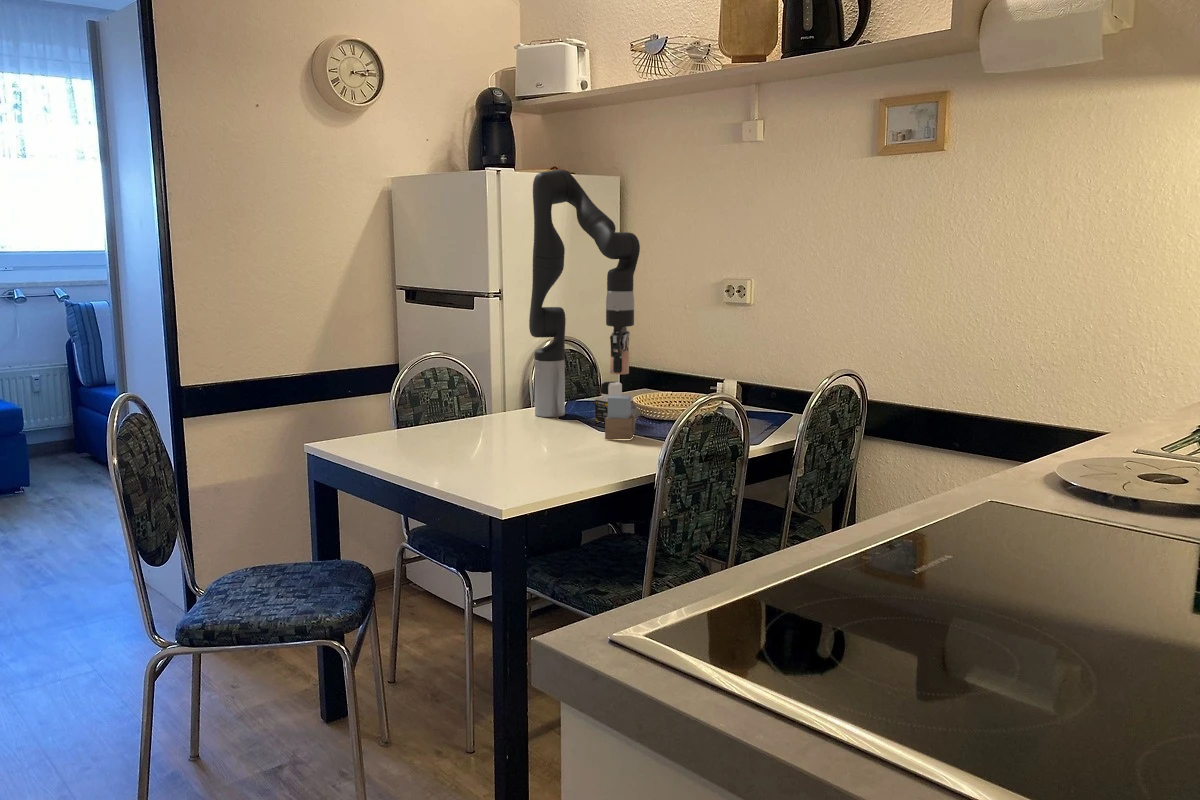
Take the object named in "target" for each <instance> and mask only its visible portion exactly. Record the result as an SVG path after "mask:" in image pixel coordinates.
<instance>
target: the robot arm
mask: <svg viewBox="0 0 1200 800" xmlns="http://www.w3.org/2000/svg"><path fill="white" fill-rule="evenodd" d="M565 202H566V203H568V204H569V205H572V206H573V207H574V208H575V210H576V219H577V222H578V225H579V226H580V227H581V228H582V230H583V231H584V232H586V233H587V234H588V235H589V237H590V238H591V239H593V240H594V243H595V245H596V246H597V249H598V250H599V251H600V253H601V254H602V255H603V257H606V258H607V259H610V260H618V261H617V262H618V263H617V265H616V267H614V268H611V269H609V270H608V272H607V273H606V274H607V276H606V277H607V278H606V290H607V291H606V297H605V298H606V299H605V300H606V301H605V324H606V326H607V327H613V331H612V333H611V335H610V337H609V339H610V353H611V357H613V358H614V359H613V371H614V372H615V373H621V372H622V357H623V356H622V354H623V351H624V350H627V351H629V352H630V349H629V344H630V343H629V341H630V331H628V329H627V327H632V326H634V325H635V295H634V276H635V275H634V274H635V272H636V268H637V265H638V261H639V256H640V250H641V246H640V240H639V239H638V237H637V235H636V234H634V232H633V233H632V232H624V231H622V232H621V231H620V232H616V228H617V227H616V224H615V222H614V221H613V220H612V219H611V218H610V217H609V216H608V215H606V213H604V212H603V211H602V210H601V209H600V208H599V207H597V205H596V204H594V202H593V201H592V200H591V198H590V197H589V196H588V194H587V193H586V191H585V190H584V189H583V187H582V186H581V185H580V183H579V182H578V181H577V179H576V178H575V177H574V176H573V175H572V174H571V172H570V171H568V170H566V169H554V170H547V171H541V172H538V173H537V174H535V176H534V179H533V182H532V203H533V204H532V205H533V222H534V223H533V227H534V228H533V247H532V284H531V285H532V288H531V298H530V299H531V300H530V307H529V308H530V309H529V320H528V321H529V322H528V327H529V328H528V329H529V332H530V335H531V337H534V338H541V339H543V338H553V339H552V340H551V342H550V343H549V344H547V345H545V346H543V347H540V348H537V349H535V351H534V415H535V416H537V417H543V418H557V417H563V416H565V414H566V409H565V408H566V401H565V400H566V398H565V397H566V396H565V395H566V389H565V387H566V378H565V377H566V375H565V373H566V372H565V369H566V368H565V365H566V364H565V362H566V360H565V353H566V352H565V348H566V345H565V344H566V341H565V339H566V323H567V322H566V320H567V319H566V313H565V310H564V308H563V307H560V306H543V304H544V303H545V299H546V297H547V294H548V293H549V291H550V290H551V288H552V287H553V286H554V285H555V284H556V282H557V280H558V279H559V278H560V277H561V275H562V273H563V271H564V269H565V268H564V267H565V253H566V252H565V251H566V250H565V249H566V248H565V244H564V242H563V240H562V238H561V237H560V235H559V232H558V231H557V229H556V228H555V225H554V224H553V223H554V222H553V217H552V207H553V205H556V204H562V203H563V204H564V203H565ZM616 350H618V352H616Z"/></svg>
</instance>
